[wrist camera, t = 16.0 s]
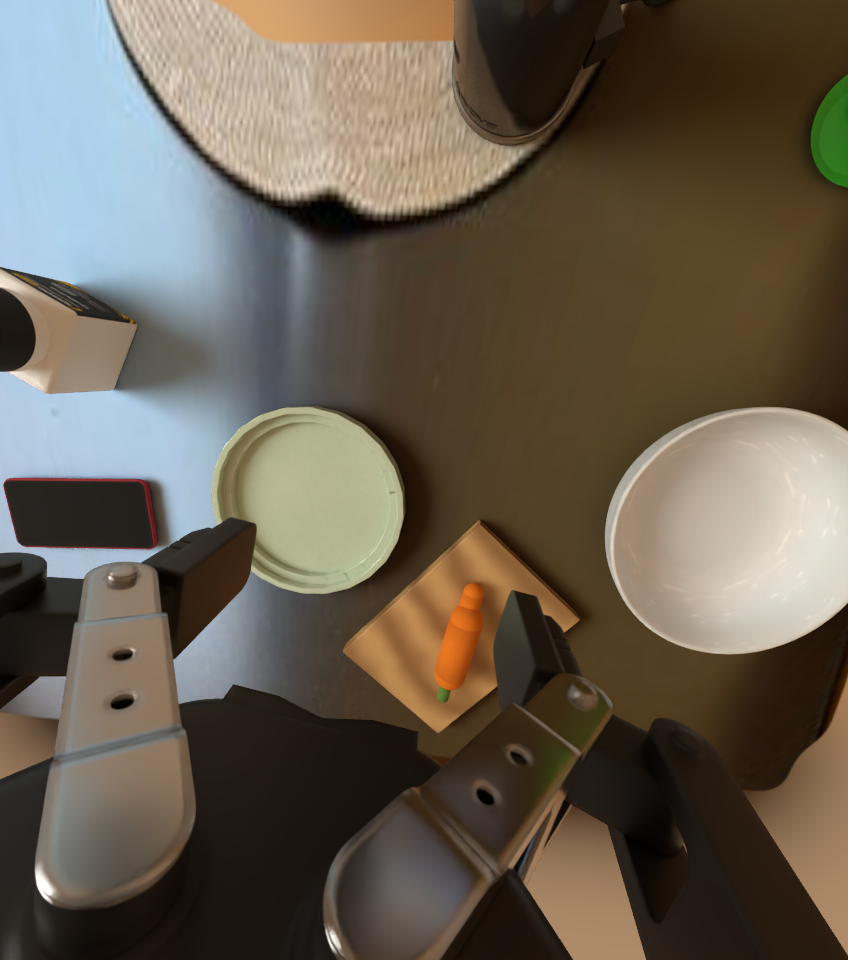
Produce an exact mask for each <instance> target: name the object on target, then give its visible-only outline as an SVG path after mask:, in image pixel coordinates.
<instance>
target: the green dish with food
mask: <svg viewBox="0 0 848 960" xmlns="http://www.w3.org/2000/svg"><path fill="white" fill-rule="evenodd" d="M811 150H812V156H813V158H814V161H815V164H816V166H817V167H818V169H819V171H820V172H821V173H822V174H823V175H824V176H825V177H826V178H827V179H828V180H829V181H831V182H833V183H835V184H837V185H840V186H844V187H848V75H846V76H845V77H844V78H842V79H841V80H840V81H839V82H838V83H837V84H836V85H835V86H834V87H833V88H832V89H831V90H830V92H829V93H828V94H827V95H826V97H825V98H824V100H823V102H822V103H821V105H820V107H819V109H818V111H817V114H816V116H815V118H814V122H813V126H812V131H811Z"/></svg>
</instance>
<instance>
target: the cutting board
mask: <svg viewBox="0 0 848 960" xmlns="http://www.w3.org/2000/svg"><path fill="white" fill-rule="evenodd" d="M469 583H477V584H479V585H480V586H481V587H482V588H483V590H484V597H483V600H482V603H481V607H480V610H479V611H480V612H481V614H482V617H483V626H482V630H481V633H480V636H479V639H478V642H477V645H476V648H475V651H474V654H473V657H472V661H471V664H470V667H469V670H468V673H467V676H466V679H465V681H464V683H463V684H462V686H461V687H459V688H458V689H455V690H451V692H450V695H449V699H448V701H447V702H445V703H442V702H440V701H439V700H438V699H437V693H438V690H439V687H440V685H439V684H438V683H437V681H436V679H435V675H434V670H435V665H436V662H437V659H438V655H439V652H440V649H441V645H442V642H443V639H444V635H445V632H446V629H447V625H448V622H449V619H450V615H451V613H452V611H453V610H454V609H455V608H456V607H457V606H459V603H460V600H461V597H462V593H463V590H464V588H465V586H466V585H467V584H469ZM512 590H515V591H519V592H523V593H527V594H530V595H534V596H537V598H538V600H539V603H540V606H541V608H542V611H543V614H544V615H548V616H551V617H552V618H553V619H554V620H555V621H556V622H557V623H558V624H559V625H560V627H561V628H562V629H563V632H566V631H567V630H568V629H570V628H571V627H572V626H573V625H575V624H576V623H577V622H578V621H580V619H579V617H578V615H577V613H576V611H574V610H573V609H572V608H571V607H570V606H569V605H568V604H567V603H566V602H565V601H564V600H563V599H562V598H561V597H560V596H559V595H558V594H557V593H556V592H555V591H554V590H553V589H551V588H550V587H549V586H548V585H547V584H546V583H545V582H544V581H543V580H542V579H541V578H540V577H539V576H538V575H537V574H536V573H535V572H534V571H533V570H532V569H531V568H530V567H529V566H527V565H526V564H525V563H524V562H523V561H522V560H521V559H520V558H519V557H518V556H517V555H516V554H515V553H514V552H513V551H512V550H511V549H510V548H509V547H508V546H507V545H506V544H504V543H503V542H502V541H501V540H500V539H499V538H498V537H497V536H496V535H495V534H494V533H493V532H492V531H491V530H490V529H489V528H488V527H487V526H486V525H485V524H484V523H483V522H482V521H480V520H479V521H478V522H476V523H475V524H474V525H473V526H472V527H471V528H470V529H469V530H468V531H467V532H466V533H465V534H463V535H462V536H461V537H460V538H459V539H458V540H457V541H456V542H455V543H454V544H453V545H452V546H451V547H449V548H448V549H447V550H446V551H445V552H444V553H443V554H442V555H441V556H440V557H439V558H438V559H436V560H435V561H434V562H433V563H432V564H431V565H430V566H429V567H428V568H427V569H426V570H425V571H424V572H422V573H421V574H420V575H419V576H418V577H417V578H416V579H415V580H414V581H413V582H412V583H411V584H410V585H408V586H407V587H406V588H405V589H404V590H403V591H402V592H401V593H400V594H399V595H398V596H397V597H395V598H394V599H393V600H392V601H391V602H390V603H389V604H388V605H387V606H386V607H385V608H384V609H383V610H381V611H380V612H379V613H378V614H377V615H376V616H375V617H374V618H373V619H372V620H371V621H370V622H368V623H367V624H366V625H365V626H364V627H363V628H362V629H361V630H360V631H359V632H358V633H357V634H356V635H354V636H353V637H352V638H351V639H350V640H349V641H348V642H347V643H346V645H345V647H344V650H343V652H344V653H345V654H346V655H347V656H348V657H349V658H351V659H352V660H353V661H354V662H355V663H356V664H358V665H359V666H360V667H361V668H362V669H363V670H365V671H366V672H367V673H368V674H369V675H370V676H372V677H373V678H374V679H375V680H376V681H377V682H379V683H380V684H381V685H382V686H383V687H385V688H386V689H387V690H388V691H389V692H390V693H392V694H393V695H394V696H395V697H396V698H397V699H399V700H400V701H401V702H402V703H403V704H404V705H406V706H407V707H408V708H409V709H410V710H411V711H413V712H414V713H415V714H416V715H417V716H418V717H420V718H421V719H422V720H423V721H424V722H425V723H427V724H428V725H429V726H430V727H431V728H433V729H434V730H435V731H436V732H437V733H439V732H441V731H442V730H443V729H444V728H446V727H447V726H448V725H449V724H451V723H452V722H453V721H454V720H456V719H457V718H458V717H459V716H461V715H462V714H463V713H464V712H466V711H467V710H468V709H469V708H471V707H472V706H473V705H474V704H476V703H477V702H478V701H479V700H481V699H482V698H483V697H484V696H486V695H487V694H488V693H489V692H491V691H492V690H493V689H494V688H496V687H497V686H498V685H497V678H496V671H495V665H494V658H493V645H494V639H495V635H496V632H497V629H498V626H499V623H500V620H501V617H502V614H503V611H504V608H505V605H506V602H507V599H508V596H509V594H510V592H511V591H512Z"/></svg>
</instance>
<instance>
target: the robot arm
mask: <svg viewBox="0 0 848 960" xmlns="http://www.w3.org/2000/svg"><path fill="white" fill-rule="evenodd" d="M632 1H637V0H454V54H453V62H452V85H453V92H454V97H455V100H456V104H457V106H458V109H459V111H460V113H461V115H462V117H463V118H464V120H465V121H466V123H467V124H468V125H469V126H470V127H471V128H472V129H473V130H474V131H475V132H476V133H477V134H478V135H480V136H481V137H483V138H485V139H487V140H489V141H492V142H494V143H499V144H505V145H513V144H520V143H524V142H527V141H530V140H532V139H534V138H536V137H538V136H539V135H541V134H542V133H544V132H545V131H547V130H548V129H549V128H550V127H551V126H552V125H553V124H554V123H555V122H556V121H557V119H558V118H559V117H560V115H561V114H562V112H563V111H564V109H565V107H566V106H567V104H568V102H569V99H570V97H571V95H572V92H573V90H574V87H575V84H576V81H577V77H578V75H579V72H580V70H581V68H582V66H583V69H585V68H587V67H589V66H591V65H593V64H595V63H597V62H599V61H601V60H603V59H605V58H607V57H609V56H611V54H612V52H613V50H614V48H615V46H616V44H617V42H618V40H619V38H620V36H621V34H622V32H623V30H624V28H625V22H624V18H623V14H622V10H621V6H620V5H622V4H625V3H629V2H632ZM642 1H643V2H644V4H645V5H646V6H656V5H659V4H662V3H664V2H667V1H669V0H642ZM256 533H257V526H256V524H255V523H252V522H249V521H245V520H241V519H237V518H233V517H230V518H228V519H226V520H225V521H223V522H222V523H220V524H219V525H217V526H216V527H214V528H213V529H212V528H205V529H201V530H197V531H194V532H191V533H189V534H187V535H186V536H184V537H183V538H181V539H180V540H179V541H176V542H174V543H173V544H171V545H170V546H169V547H166V548H165V549H163V550H161V551H160V552H158V553H156V554H155V555H153V556H152V557H150V558H148V559H147V560H145V561H143V562H142V563H137V562H115V563H109V564H105V565H102V566H99V567H97V568H94V569H93V570H91V571H89V572H88V573H87V574H86V576H85V577H84V579H72V578H56V577H47V562H46V561H45V559H43V558H42V557H40V556H37V555H34V554H28V553H0V709H1V708H2V707H3V706H5V705H6V704H7V703H8V702H10V701H11V700H12V699H13V698H15V697H16V696H17V695H18V694H20V693H21V692H22V691H23V690H24V689H26V688H27V687H28V686H29V685H31V684H32V683H33V682H34V681H36V680H37V679H38V678H39V677H40V676H66V682H65V688H64V694H63V701H62V707H61V714H60V720H59V727H58V734H57V740H56V746H55V753H54V757H51V758H49V759H47V760H44V761H42V762H40V763H37V764H35V765H33V766H30V767H28V768H26V769H24V770H21V771H19V772H16V773H14V774H12V775H10V776H7V777H5V778H2V779H0V960H573V959H572V957H571V956H570V954H569V953H568V951H567V950H566V948H565V947H564V945H563V943H562V942H561V940H560V939H559V937H558V936H557V934H556V933H555V931H554V929H553V928H552V926H551V925H550V923H549V922H548V920H547V919H546V917H545V916H544V914H543V913H542V911H541V909H540V908H539V907H538V905H537V903H536V902H535V900H534V899H533V897H532V896H531V894H530V892H529V891H528V890H527V888H526V886H527V884H528V882H529V880H530V878H531V876H532V874H533V872H534V870H535V869H536V867H537V865H538V863H539V861H540V860H541V858H542V856H543V854H544V853H545V851H546V850H547V848H548V846H549V844H550V843H551V841H552V839H553V838H554V836H555V834H556V832H557V831H558V829H559V827H560V826H561V824H562V822H563V821H564V819H565V817H566V816H567V814H568V812H569V810H570V809H571V806H572V805H574V806H575V807H577V808H579V809H581V810H582V811H584V812H586V813H588V814H590V815H591V816H593V817H595V818H597V819H598V820H600V821H602V822H604V823H605V824H607V825H608V828H609V832H610V836H611V840H612V843H613V846H614V850H615V853H616V857H617V860H618V864H619V867H620V871H621V874H622V878H623V881H624V884H625V888H626V891H627V895H628V898H629V902H630V905H631V909H632V912H633V916H634V919H635V922H636V926H637V929H638V933H639V936H640V940H641V943H642V946H643V950H644V954H645V957H646V960H848V955H847V954H846V952H845V950H844V949H843V947H842V946H841V944H840V943H839V941H838V940H837V938H836V936H835V935H834V933H833V932H832V930H831V929H830V927H829V925H828V924H827V922H826V921H825V919H824V918H823V916H822V915H821V913H820V911H819V910H818V908H817V907H816V905H815V904H814V902H813V901H812V899H811V898H810V896H809V894H808V893H807V891H806V890H805V888H804V887H803V885H802V883H801V882H800V880H799V879H798V877H797V876H796V874H795V872H794V871H793V869H792V868H791V866H790V865H789V863H788V861H787V860H786V858H785V857H784V855H783V854H782V852H781V851H780V849H779V847H778V846H777V844H776V843H775V841H774V840H773V838H772V837H771V835H770V833H769V832H768V831H767V829H766V827H765V826H764V824H763V823H762V821H761V819H760V818H759V816H758V815H757V813H756V812H755V810H754V808H753V807H752V805H751V804H750V802H749V801H748V799H747V798H746V796H745V794H744V793H743V791H742V790H741V788H740V787H739V785H738V783H737V782H736V780H735V779H734V777H733V776H732V774H731V773H730V771H729V769H728V768H727V766H726V765H725V763H724V762H723V760H722V759H721V757H720V755H719V754H718V753H717V751H716V750H715V749H714V747H713V746H712V745H711V744H710V743H709V742H708V741H707V740H706V739H704V738H703V737H702V736H701V735H700V734H698V733H697V732H695V731H694V730H692V729H691V728H689V727H687V726H686V725H684V724H682V723H679V722H677V721H674V720H671V719H666V718H658V719H655V720H654V721H653V723H652V725H651V727H650V729H649V731H648V732H647V731H645V730H643V729H641V728H639V727H637V726H635V725H633V724H631V723H629V722H627V721H624V720H622V719H621V718H619V717H617V716H615V715H614V714H612V713H613V707H612V704H611V701H610V700H609V698H608V697H607V695H606V694H605V693H604V692H603V691H602V690H601V689H600V688H599V687H597V686H596V685H595V684H593V683H592V682H590V681H588V680H587V679H585V678H583V676H582V674H581V671H580V669H579V667H578V664H577V662H576V660H575V657H574V655H573V653H572V652H571V648H570V646H569V643H568V642H567V639H566V636H565V634H564V632H563V629H562V628H561V627H560V625H559V624H558V623H557V622H556V621H555V620H554V619H553V618H552V617H551V616H548V615H544V614H543V611H542V608H541V606H540V603H539V600H538V598H537V596H534V595H530V594H527V593H523V592H519V591H515V590H512V591H511V592H510V594H509V596H508V599H507V602H506V605H505V608H504V611H503V614H502V617H501V620H500V623H499V626H498V629H497V632H496V635H495V639H494V645H493V658H494V665H495V671H496V678H497V685H498V692H499V699H500V706H501V713H500V714H499V715H498V716H497V717H496V718H495V719H494V720H493V721H492V722H491V723H489V724H488V725H487V726H486V727H485V728H484V729H483V730H482V731H481V732H480V733H479V734H478V735H476V736H475V737H474V738H473V739H472V740H471V741H470V742H469V743H468V744H467V745H466V746H465V747H464V748H462V749H461V750H460V751H459V752H458V753H457V754H456V755H455V756H454V757H453V758H452V759H451V760H449V762H447V763H446V764H445V765H444V766H442V765H441V764H440V763H438V762H437V761H436V760H435V759H434V758H432V757H431V756H429V755H428V754H426V753H425V752H423V751H421V750H419V749H417V741H418V732H417V731H413V730H409V729H405V728H401V727H397V726H393V725H389V724H386V723H382V722H378V721H374V720H353V719H327V718H321V717H319V716H317V715H315V714H313V713H311V712H309V711H307V710H305V709H303V708H301V707H299V706H297V705H295V704H293V703H291V702H289V701H287V700H286V699H284V698H282V697H280V696H277V695H273V694H269V693H265V692H261V691H257V690H253V689H250V688H246V687H242V686H238V685H234V684H233V686H232V687H231V688H230V690H229V691H228V693H227V694H226V696H225V697H224V698H223V699H203V700H196V701H191V702H186V703H182V704H179V703H178V695H177V687H176V679H175V671H174V663H173V659H175V658H176V657H177V656H178V655H179V654H180V653H181V652H182V651H183V650H184V649H185V648H186V647H187V646H188V645H189V644H190V643H191V642H192V641H193V640H194V639H195V638H196V637H197V636H198V634H199V633H200V632H201V631H202V630H203V629H204V628H205V627H206V626H207V625H208V624H209V623H210V622H211V621H212V620H213V619H214V618H215V617H216V616H217V615H218V614H219V613H220V612H221V611H222V610H223V609H224V608H225V607H226V606H227V605H228V603H229V602H230V601H231V600H232V599H233V598H234V597H235V596H236V595H237V594H238V593H239V592H240V591H241V590H242V589H243V587H244V586H245V584H246V582H247V580H248V577H249V575H250V571H251V565H252V559H253V552H254V546H255V540H256ZM683 843H685V846H686V849H687V852H686V850H685V848H684V846H683ZM687 854H688V855H687Z"/></svg>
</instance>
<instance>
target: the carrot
mask: <svg viewBox="0 0 848 960" xmlns="http://www.w3.org/2000/svg"><path fill="white" fill-rule="evenodd" d="M483 597H484V590H483V588H482V587H481V586H480V585H479V584H477V583H469V584H467V585H466V586H465V588H464V590H463V593H462V597H461V600H460V603H459V606H457V607H456V608H455V609H454V610H453V611H452V613H451V615H450V619H449V622H448V625H447V629H446V632H445V635H444V639H443V642H442V645H441V649H440V652H439V655H438V659H437V662H436V665H435V670H434V675H435V679H436V681H437V683H438V684H439V685H440V687H439V690H438V693H437V699H438V700H439V701H440V702H442V703H445V702H447V701H448V699H449V695H450V692H451V690H455V689H458V688H459V687H461V686H462V684H463V683H464V681H465V679H466V676H467V673H468V670H469V667H470V664H471V661H472V657H473V654H474V651H475V648H476V645H477V642H478V639H479V636H480V633H481V630H482V626H483V617H482V614H481V612H480V611H479V610H480V607H481V603H482V600H483Z"/></svg>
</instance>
